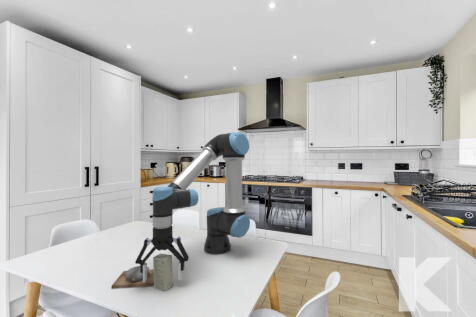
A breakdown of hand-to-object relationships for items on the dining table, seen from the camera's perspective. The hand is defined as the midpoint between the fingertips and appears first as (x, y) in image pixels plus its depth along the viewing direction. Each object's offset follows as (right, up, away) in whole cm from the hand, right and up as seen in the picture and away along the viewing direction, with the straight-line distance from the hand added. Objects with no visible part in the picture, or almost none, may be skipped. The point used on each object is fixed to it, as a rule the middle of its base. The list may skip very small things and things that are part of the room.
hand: (162, 279), depth 90 cm
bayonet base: (-13, -3, +6) cm, 14 cm away
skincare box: (0, -3, 0) cm, 3 cm away
